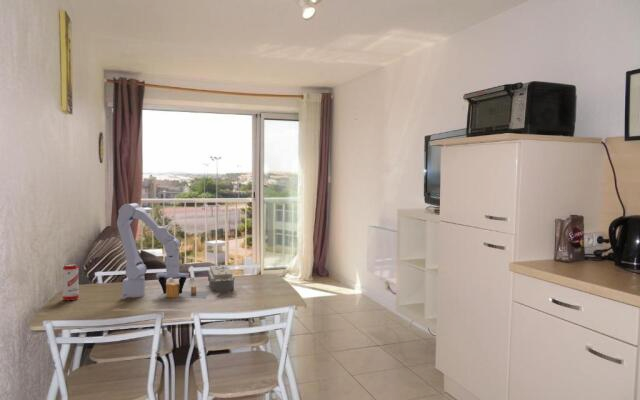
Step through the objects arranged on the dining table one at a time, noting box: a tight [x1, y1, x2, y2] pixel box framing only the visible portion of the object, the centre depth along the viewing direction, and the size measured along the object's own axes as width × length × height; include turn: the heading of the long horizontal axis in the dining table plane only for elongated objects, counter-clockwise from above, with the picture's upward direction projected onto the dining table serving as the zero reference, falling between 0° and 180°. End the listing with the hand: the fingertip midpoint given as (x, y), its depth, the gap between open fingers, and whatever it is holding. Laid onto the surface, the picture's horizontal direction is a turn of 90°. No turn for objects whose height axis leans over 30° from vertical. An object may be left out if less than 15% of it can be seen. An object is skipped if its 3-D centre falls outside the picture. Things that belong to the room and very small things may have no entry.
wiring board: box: [157, 285, 211, 299], centre depth 211 cm, size 22×12×5 cm, turn 93°
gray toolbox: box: [207, 264, 235, 293], centre depth 229 cm, size 12×28×10 cm, turn 20°
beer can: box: [62, 263, 80, 301], centre depth 204 cm, size 6×6×16 cm
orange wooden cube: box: [166, 282, 179, 297], centre depth 209 cm, size 6×6×6 cm
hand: (172, 293), depth 209 cm, fingers open, 7 cm apart
